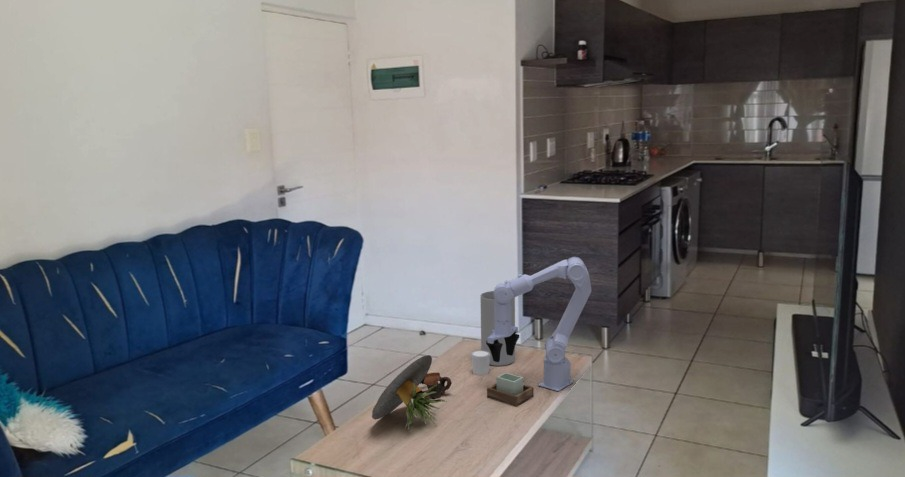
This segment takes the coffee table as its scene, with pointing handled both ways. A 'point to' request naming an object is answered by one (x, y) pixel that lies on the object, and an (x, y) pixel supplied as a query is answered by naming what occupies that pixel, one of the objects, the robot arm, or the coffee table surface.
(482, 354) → the white cylinder
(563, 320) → the robot arm
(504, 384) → the green crate
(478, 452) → the coffee table surface
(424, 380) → the pottery mug
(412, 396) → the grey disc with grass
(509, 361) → the cylinder vase
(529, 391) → the walnut crate
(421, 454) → the coffee table surface
